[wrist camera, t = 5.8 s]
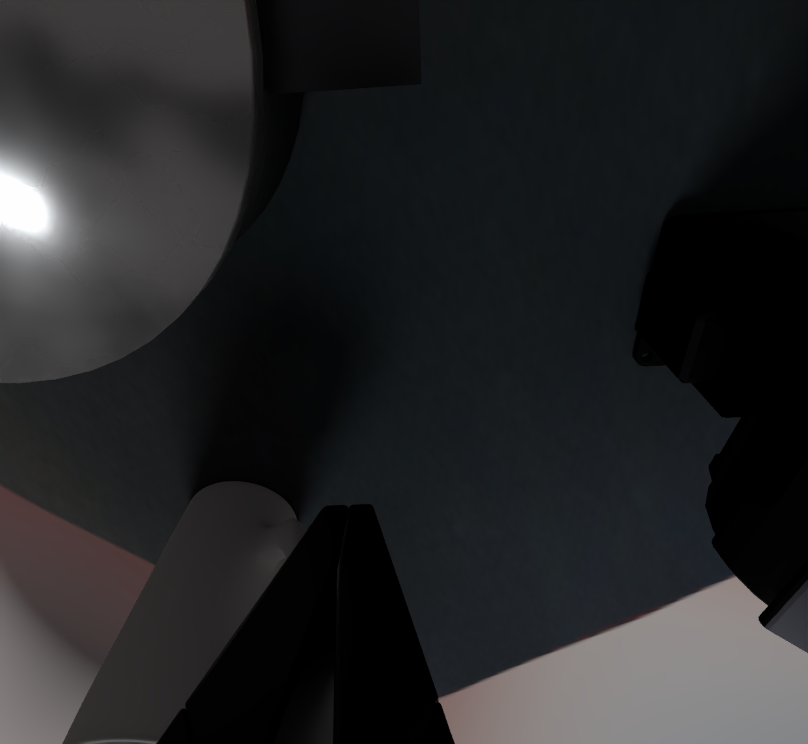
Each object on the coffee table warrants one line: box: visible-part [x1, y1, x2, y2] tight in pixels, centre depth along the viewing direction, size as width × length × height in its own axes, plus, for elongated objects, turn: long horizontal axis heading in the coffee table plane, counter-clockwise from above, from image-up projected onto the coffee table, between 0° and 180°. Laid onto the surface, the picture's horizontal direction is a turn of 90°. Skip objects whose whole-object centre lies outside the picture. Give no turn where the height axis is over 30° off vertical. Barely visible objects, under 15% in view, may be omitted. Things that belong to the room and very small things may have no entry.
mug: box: [63, 481, 307, 744], centre depth 22 cm, size 10×7×12 cm, turn 126°
